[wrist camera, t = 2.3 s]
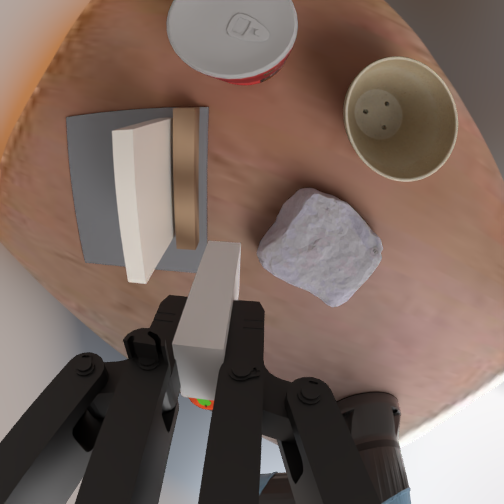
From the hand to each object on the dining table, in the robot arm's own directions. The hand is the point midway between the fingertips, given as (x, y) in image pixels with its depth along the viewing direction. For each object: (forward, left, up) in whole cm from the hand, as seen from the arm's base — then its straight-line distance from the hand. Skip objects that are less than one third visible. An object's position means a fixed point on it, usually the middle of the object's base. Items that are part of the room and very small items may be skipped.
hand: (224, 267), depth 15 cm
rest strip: (0, +6, -17) cm, 18 cm away
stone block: (-6, -9, -18) cm, 21 cm away
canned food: (+13, +1, -17) cm, 22 cm away
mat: (-2, +12, -17) cm, 21 cm away
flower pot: (+8, -12, -17) cm, 22 cm away
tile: (0, +8, -17) cm, 19 cm away
